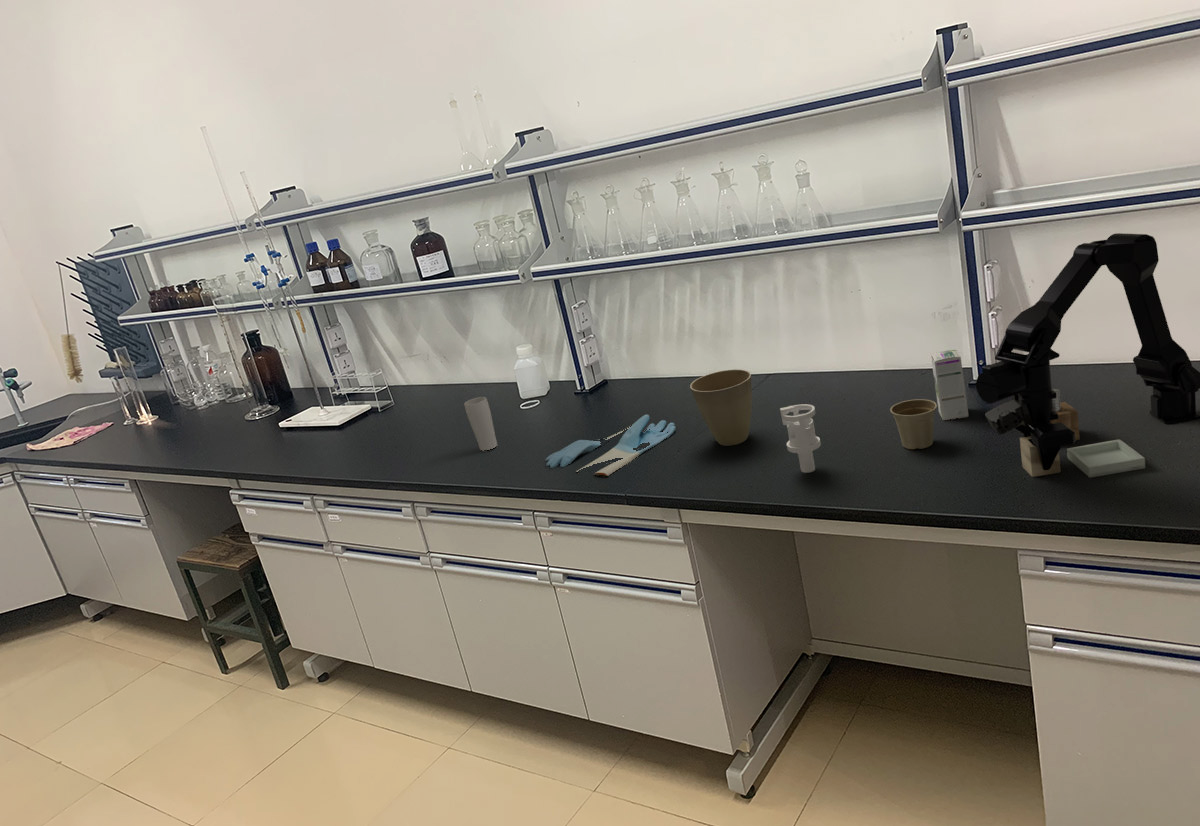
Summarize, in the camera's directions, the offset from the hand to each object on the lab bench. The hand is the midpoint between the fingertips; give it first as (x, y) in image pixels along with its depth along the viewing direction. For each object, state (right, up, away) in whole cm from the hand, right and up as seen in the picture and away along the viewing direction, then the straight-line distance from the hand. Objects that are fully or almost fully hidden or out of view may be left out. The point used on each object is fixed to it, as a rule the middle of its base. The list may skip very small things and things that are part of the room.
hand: (1040, 464), depth 163 cm
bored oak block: (+9, +5, +11) cm, 15 cm away
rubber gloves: (-80, 0, +68) cm, 105 cm away
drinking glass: (-115, -1, +91) cm, 147 cm away
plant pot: (-50, +3, +52) cm, 72 cm away
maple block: (0, -1, 0) cm, 1 cm away
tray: (+10, 0, -3) cm, 11 cm away
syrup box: (-2, +9, +34) cm, 36 cm away
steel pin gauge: (+9, +5, +11) cm, 15 cm away
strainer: (-38, -3, +25) cm, 45 cm away
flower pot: (-14, +3, +24) cm, 28 cm away
